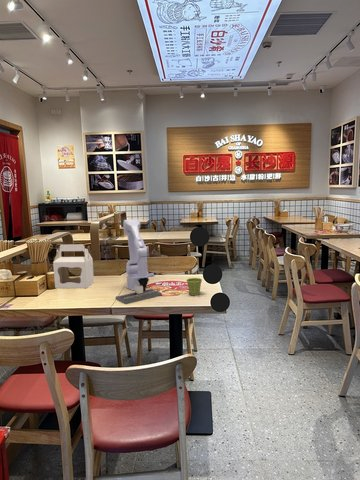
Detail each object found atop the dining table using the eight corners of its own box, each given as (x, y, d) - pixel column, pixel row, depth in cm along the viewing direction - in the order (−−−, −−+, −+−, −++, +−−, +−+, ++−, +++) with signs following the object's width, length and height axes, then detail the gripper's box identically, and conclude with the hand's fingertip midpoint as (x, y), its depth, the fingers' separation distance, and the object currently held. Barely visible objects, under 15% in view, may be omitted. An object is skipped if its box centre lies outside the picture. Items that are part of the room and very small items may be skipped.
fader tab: (134, 293, 198) (134, 285, 197) (139, 292, 199) (139, 284, 199) (138, 295, 194) (138, 287, 194) (143, 294, 196) (142, 286, 195)
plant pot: (188, 297, 195) (188, 282, 194) (185, 292, 204) (184, 278, 203) (204, 295, 197) (203, 281, 195) (200, 291, 206) (199, 277, 205)
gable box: (94, 282, 232) (91, 242, 228) (87, 288, 219) (84, 245, 215) (63, 282, 234) (60, 243, 230) (54, 288, 221) (51, 246, 217)
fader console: (115, 299, 195) (115, 295, 194) (150, 291, 209) (150, 287, 209) (125, 304, 185) (125, 299, 185) (161, 295, 199) (161, 291, 199)
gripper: (135, 271, 189) (136, 294, 191) (156, 267, 198) (157, 289, 200) (129, 269, 195) (130, 291, 197) (150, 265, 203) (151, 287, 205)
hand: (143, 290), depth 199 cm, fingers closed
